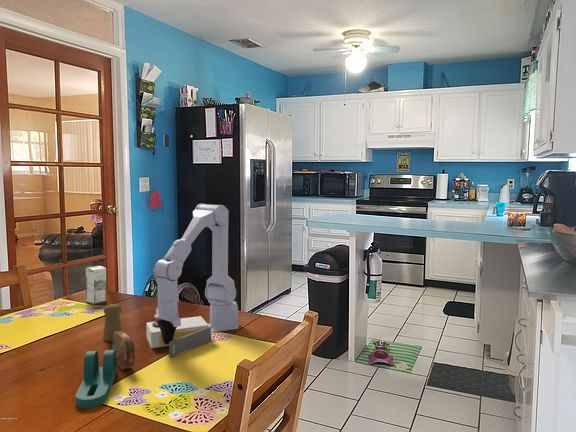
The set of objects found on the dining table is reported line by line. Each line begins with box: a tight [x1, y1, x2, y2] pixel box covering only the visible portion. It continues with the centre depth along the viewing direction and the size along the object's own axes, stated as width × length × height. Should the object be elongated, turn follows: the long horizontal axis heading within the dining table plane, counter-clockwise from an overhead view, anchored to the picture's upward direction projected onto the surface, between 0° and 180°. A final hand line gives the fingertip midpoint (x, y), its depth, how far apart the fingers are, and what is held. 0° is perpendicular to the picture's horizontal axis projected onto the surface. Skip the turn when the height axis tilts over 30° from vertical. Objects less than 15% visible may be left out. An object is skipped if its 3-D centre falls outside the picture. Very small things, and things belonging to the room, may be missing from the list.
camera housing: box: [146, 315, 209, 349], centre depth 148 cm, size 18×11×6 cm, turn 115°
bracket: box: [75, 349, 118, 409], centre depth 113 cm, size 18×7×8 cm, turn 11°
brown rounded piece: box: [110, 330, 136, 370], centre depth 129 cm, size 15×3×8 cm, turn 36°
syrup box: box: [85, 265, 107, 305], centre depth 189 cm, size 6×6×14 cm
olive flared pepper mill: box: [103, 303, 123, 342], centre depth 149 cm, size 6×6×11 cm
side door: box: [168, 327, 212, 358], centre depth 140 cm, size 17×2×4 cm, turn 145°
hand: (168, 343), depth 138 cm, fingers closed
